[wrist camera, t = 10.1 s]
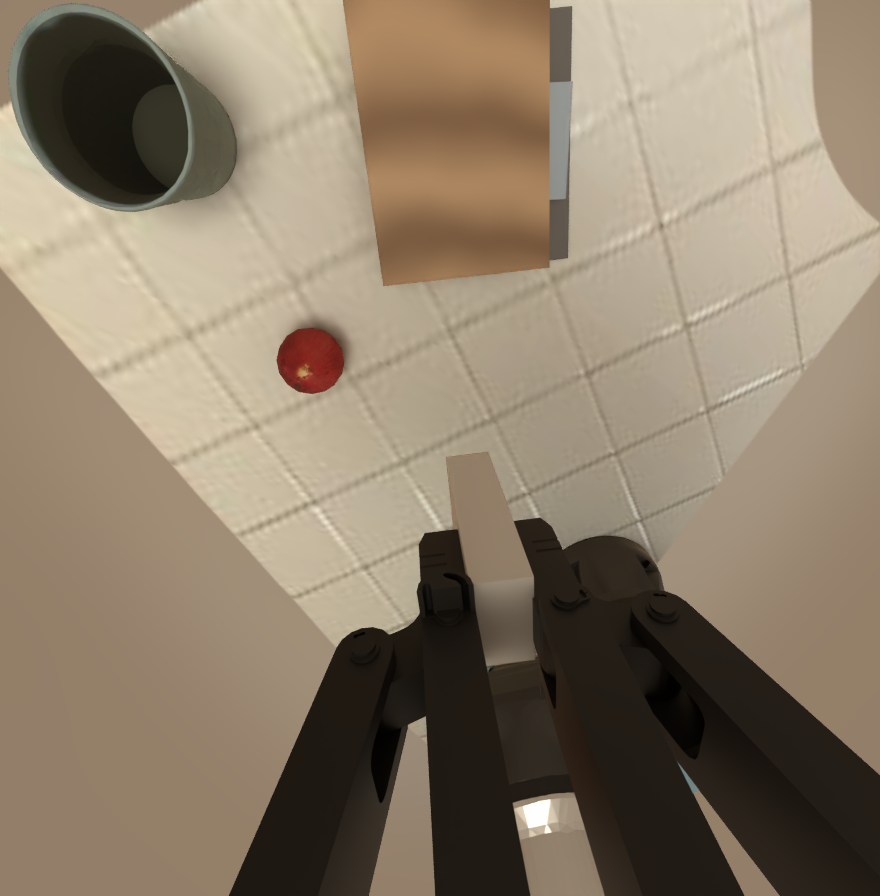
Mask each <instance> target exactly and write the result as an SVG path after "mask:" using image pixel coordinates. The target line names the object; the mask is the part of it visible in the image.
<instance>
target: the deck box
mask: <svg viewBox="0 0 880 896" xmlns="http://www.w3.org/2000/svg"><path fill="white" fill-rule="evenodd" d="M572 83H573V81H572V82H550V200H560V199H566V185H567V168H568V151H569V134H570V117H571V100H572Z"/></svg>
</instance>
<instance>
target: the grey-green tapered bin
mask: <svg viewBox="0 0 880 896" xmlns="http://www.w3.org/2000/svg"><path fill="white" fill-rule="evenodd" d="M8 74H9V89H10V95H11V100H12V106H13V110H14V113H15V117H16V121H17V123H18V126H19V128H20V130H21V133H22V135H23V137H24V139H25V140H26V142H27V144H28V146H29V147H30V149H31V151H32V152H33V153H34V155H35V156H36V157H37V159H38V160H39V161H40V163H41V164H42V166H43V167H44V168H45V169H46V170H47V171H48V172H49V173H50V174H51V175H52V176H53V177H54V178H55V179H56V180H57V181H58V182H60V183H61V184H62V185H63V186H64V187H66V188H67V189H69V190H70V191H72V192H73V193H75V194H76V195H78V196H79V197H81V198H83V199H85V200H87V201H89V202H91V203H93V204H96V205H98V206H101V207H104V208H107V209H111V210H116V211H124V212H137V211H143V210H149V209H151V208H155V207H159V206H163V205H168V204H172V203H177V202H179V201H181V200H183V199H184V200H190V199H191V200H192V199H197V198H203V197H206V196H209V195H211V194H213V193H215V192H217V191H218V190H219V189H220V188H222V187H223V186H224V184H225V183H226V182H227V181H228V179H229V178H230V176H231V173H232V171H233V169H234V165H235V161H236V138H235V134H234V131H233V127H232V124H231V122H230V120H229V116H228V115H227V113H226V112H225V110H224V108H223V107H222V105H221V104H220V102H219V101H218V100H217V99H216V97H215V96H214V95H213V94H212V93H211V92H210V91H209V90H208V89H206V88H205V87H204V86H203V85H202V84H200V83H199V82H198V81H197V80H196V79H195V78H194V77H193V76H192V75H190V74H189V73H188V72H186V71H185V70H184V69H183V68H182V67H181V66H179V65H178V64H176V63H175V62H174V60H173V59H172V58H171V57H169V56H168V55H167V54H166V53H165V52H164V51H163V50H162V49H160V48H159V47H158V46H157V45H156V44H155V43H154V42H153V41H152V40H151V39H150V38H149V37H148V36H147V35H146V34H145V33H143V32H142V31H141V30H140V29H139V28H137V27H136V26H135V25H133V24H132V23H131V22H129V21H128V20H126V19H124V18H123V17H121V16H119V15H117V14H115V13H113V12H111V11H109V10H106V9H104V8H100V7H95V6H91V5H87V4H76V3H70V4H63V5H57V6H53V7H51V8H48V9H46V10H44V11H42V12H41V13H39V14H38V15H36V16H35V17H34V18H32V19H31V20H30V21H29V22H28V23H27V24H26V26H25V27H24V28H23V29H22V31H21V32H20V34H19V36H18V38H17V40H16V42H15V44H14V46H13V49H12V54H11V59H10V64H9V70H8Z"/></svg>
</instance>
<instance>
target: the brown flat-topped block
mask: <svg viewBox="0 0 880 896" xmlns="http://www.w3.org/2000/svg"><path fill="white" fill-rule="evenodd" d="M343 5H344V12H345V19H346V26H347V33H348V40H349V47H350V54H351V61H352V68H353V75H354V82H355V89H356V96H357V103H358V110H359V117H360V124H361V131H362V139H363V146H364V153H365V160H366V167H367V174H368V181H369V188H370V195H371V202H372V209H373V216H374V223H375V230H376V237H377V244H378V251H379V258H380V265H381V272H382V279H383V286H389V285H397V284H406V283H415V282H424V281H433V280H442V279H451V278H460V277H469V276H478V275H487V274H496V273H505V272H513V271H522V270H531V269H540V268H549V208H550V0H343Z"/></svg>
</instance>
